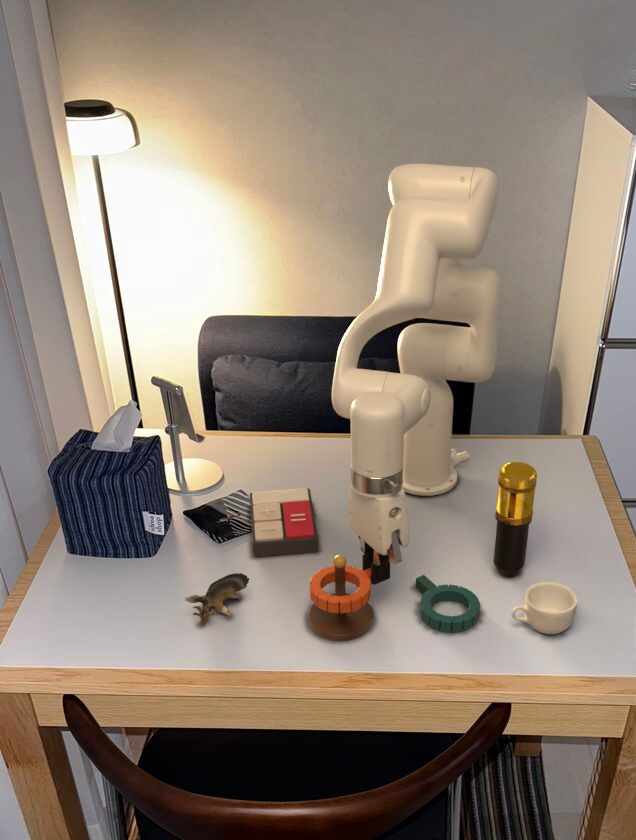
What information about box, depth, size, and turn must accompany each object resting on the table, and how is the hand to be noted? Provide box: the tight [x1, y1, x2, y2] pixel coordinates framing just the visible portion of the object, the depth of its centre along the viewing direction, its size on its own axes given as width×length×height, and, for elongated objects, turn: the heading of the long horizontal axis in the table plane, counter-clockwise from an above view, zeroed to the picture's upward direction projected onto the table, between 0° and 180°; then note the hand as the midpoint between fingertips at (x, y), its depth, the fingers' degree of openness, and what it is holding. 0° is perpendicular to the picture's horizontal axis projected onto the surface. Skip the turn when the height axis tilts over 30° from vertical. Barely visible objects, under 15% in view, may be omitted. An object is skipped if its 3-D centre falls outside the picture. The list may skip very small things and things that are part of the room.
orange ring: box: [309, 564, 373, 613], centre depth 138 cm, size 13×9×2 cm
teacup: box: [510, 581, 579, 635], centre depth 138 cm, size 10×8×5 cm
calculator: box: [249, 487, 319, 558], centre depth 160 cm, size 11×4×15 cm
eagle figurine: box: [184, 572, 250, 626], centre depth 141 cm, size 8×7×9 cm
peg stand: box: [308, 554, 374, 642], centre depth 138 cm, size 10×10×12 cm
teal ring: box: [415, 574, 481, 634], centre depth 143 cm, size 13×9×2 cm
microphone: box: [493, 461, 538, 578], centre depth 146 cm, size 6×13×20 cm, turn 108°
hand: (376, 576), depth 141 cm, fingers closed on orange ring, 1 cm apart
